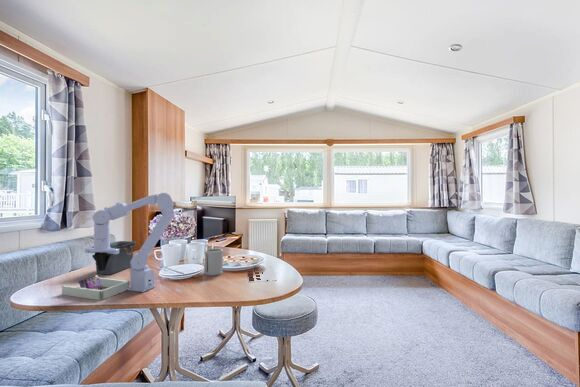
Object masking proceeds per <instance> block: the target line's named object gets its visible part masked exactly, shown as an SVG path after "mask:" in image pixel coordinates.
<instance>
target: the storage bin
mask: <svg viewBox="0 0 580 387" xmlns="http://www.w3.org/2000/svg"><path fill="white" fill-rule="evenodd" d="M136 243H137V241H133V240H131V241H130V240H128V241H126V240H119V241H113V242H110V247H111V248H115V249H119V254H111V256H110V258H109V260H108V262H107V265H106V269H105V270H103V271H99V269H98V266H97V263H96V262H95V270H96V274H97V275H98V274H99V275H113V274H115V273H119V272H121V271H123V270H126V269H130V268H131V265H130V262H131V259H132V258H133V255H134V249H135V248H134V247H136V246H137V244H136ZM91 248H94V245H93V246H91Z"/></svg>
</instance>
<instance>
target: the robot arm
mask: <svg viewBox="0 0 580 387" xmlns="http://www.w3.org/2000/svg"><path fill="white" fill-rule="evenodd" d="M148 205H151V206H155V205H157V206H158V207H159V209H160V212H161V217H160V218H159V219H158V222H157V223H156V224H155V226H154V228H153V229H152V231H151V232H150V234H149V235H148V236H147V238H146V240H145V242H144V243H143V244H142V246H141V247H140V249H139V250H138V251H136V252H135V253H133V258H132V259H131V262H130V265H131V267H130V268H129V273H130V274H129V281H130V288H127V289H126V291H130V292H137V293H139V292H140V293H144V292H147V291H149V290H151V289H153V288H156V287H157V286H156V285H155V271H154V270H153V269H151V268H150V267H149V265H148V263H147V262H148V260H149V256H150V255H151V253H152V251H153V250H154V248H155V247H156V245H157V243H158V242H159V240H160V238H161V237H162V236H163V234H164V232H165V231H166V229H167V228H168V226H169V225H170V223H171V221H172V220H173V218H174V217H175V213H174V211H175V210H174V202H173V199H172V197H171V195H170V193H167V192H161V193H157V194H152V195H148V196H145V197H142V198H139V199H138V200H135V201H133V202H130V203H125V202H116V203H115V205H112V206H111V205H110V206H109V207H107V206H106V207H104V208H103V209H100V210H97V211H96V212H94V213H93V215H92V221H93V223H94V224H93V246H94V248H92V247H86V248H84V253H85V254H92V258H93V259H94V261H95V264H96V263H97V266H98V269H99V271H103V270H105V269H106V265H107V262H108V260H109V258H110V256H111V254H119V249H115V248H111V247H110V243H111V226H110V221H115V220H117V219H120V218H123V217H124V216H128V215H129V213H130V211H133V210H135V209H139V208H141V207H145V206H148Z"/></svg>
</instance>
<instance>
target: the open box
mask: <svg viewBox="0 0 580 387" xmlns="http://www.w3.org/2000/svg"><path fill="white" fill-rule="evenodd" d="M98 278H99V281H100V284H101V288H102V287H103V288H105V289H101V290H98V289H95V288H93V289H88V288H81V287H80V286H79V287H78V286H71V285H61V295H62V296H70V297H77V298H84V299H90V300H95V301H96V300H98V301H103V300H105V299H108V298H110V297H112V296H116V295H117V294H120V293H124V292H125V291H127V290H126V289H127V288H130V280H123V279H114V278H107V277H106V278H105V277H99V276H98ZM91 281H94V283H96V284H95V285H96V286H95V287H99V286H98V283H97V280H96V279H94V280H93V279H92V280H91Z"/></svg>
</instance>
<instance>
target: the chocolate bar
mask: <svg viewBox="0 0 580 387" xmlns="http://www.w3.org/2000/svg"><path fill="white" fill-rule="evenodd" d="M261 270H262V269H261ZM255 271H259V270H258V268H254V272H255ZM246 272H248V274H247V278H248V277H249V281H254V278H253V271H252V269H249V270H247V269H246ZM255 274H259V272H255ZM262 274H263V272H262ZM256 277H260V275H256ZM256 279H257V280H261V279H260V278H256Z"/></svg>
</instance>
